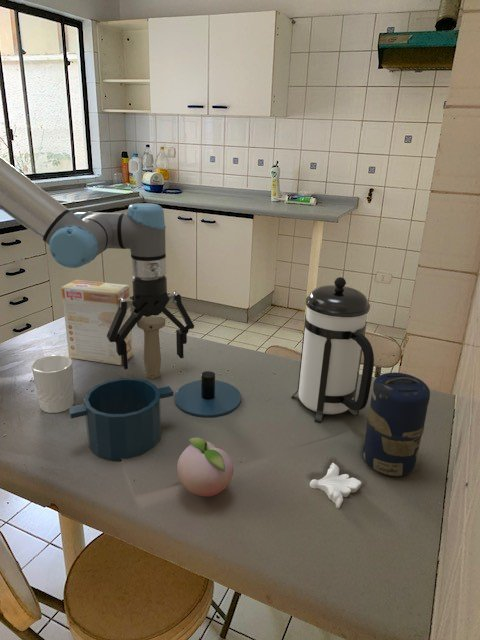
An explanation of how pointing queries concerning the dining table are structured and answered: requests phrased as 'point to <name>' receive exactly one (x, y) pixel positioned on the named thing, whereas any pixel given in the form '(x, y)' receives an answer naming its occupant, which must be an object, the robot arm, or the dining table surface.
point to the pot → (122, 417)
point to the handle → (151, 344)
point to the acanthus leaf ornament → (336, 485)
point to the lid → (207, 397)
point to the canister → (395, 423)
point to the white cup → (54, 382)
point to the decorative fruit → (204, 468)
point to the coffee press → (335, 351)
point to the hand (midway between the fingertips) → (153, 361)
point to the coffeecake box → (94, 320)
